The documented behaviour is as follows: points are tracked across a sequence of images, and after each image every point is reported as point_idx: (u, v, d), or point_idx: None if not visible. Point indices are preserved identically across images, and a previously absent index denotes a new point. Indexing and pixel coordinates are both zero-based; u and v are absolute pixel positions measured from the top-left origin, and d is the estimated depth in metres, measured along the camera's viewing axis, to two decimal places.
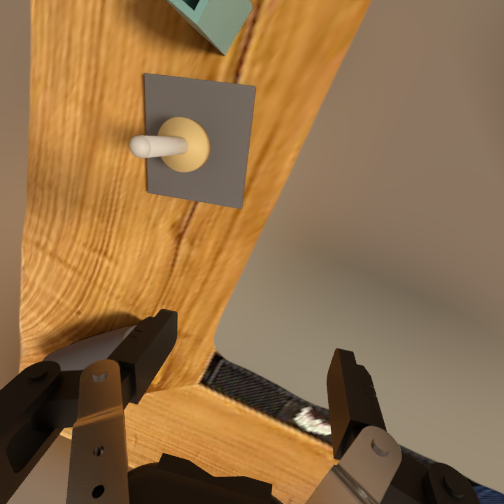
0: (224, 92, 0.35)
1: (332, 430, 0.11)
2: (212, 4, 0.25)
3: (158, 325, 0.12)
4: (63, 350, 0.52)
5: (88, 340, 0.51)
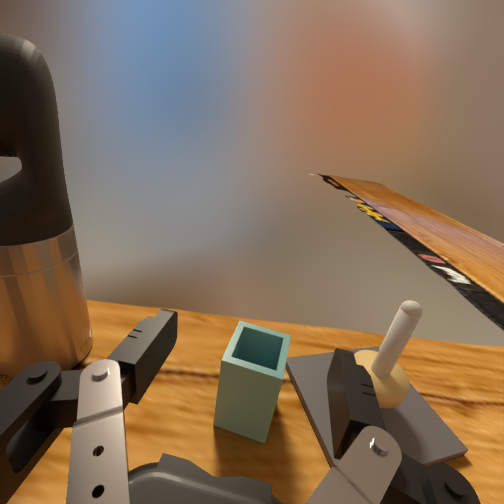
0: (304, 381, 0.34)
1: (332, 430, 0.11)
2: None
3: (158, 325, 0.12)
4: None
5: None
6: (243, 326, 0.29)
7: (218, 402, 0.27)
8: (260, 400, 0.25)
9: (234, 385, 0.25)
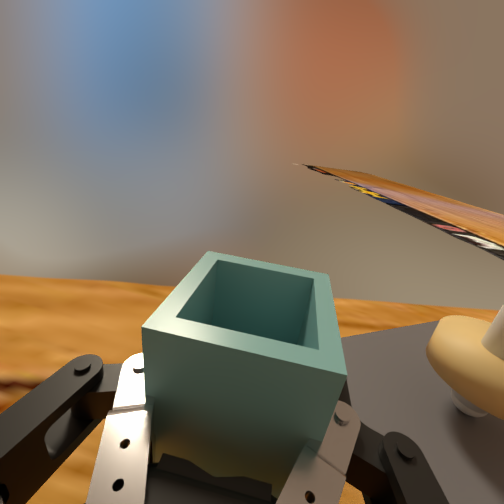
0: None
1: None
2: None
3: None
4: None
5: None
6: (217, 261, 0.12)
7: None
8: (269, 445, 0.09)
9: (190, 406, 0.09)
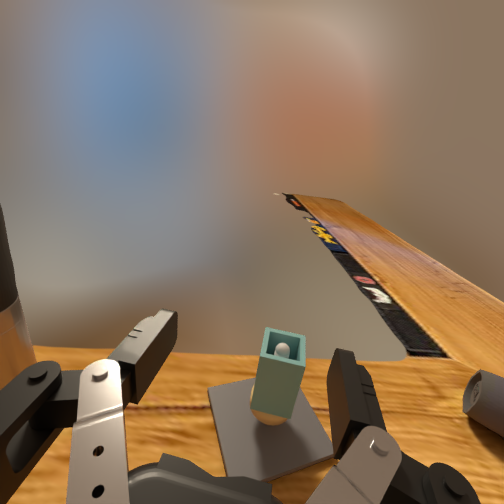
0: (219, 406, 0.43)
1: (332, 430, 0.11)
2: None
3: (158, 325, 0.12)
4: None
5: None
6: (269, 331, 0.38)
7: (255, 389, 0.36)
8: (288, 384, 0.35)
9: (268, 374, 0.35)
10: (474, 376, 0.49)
